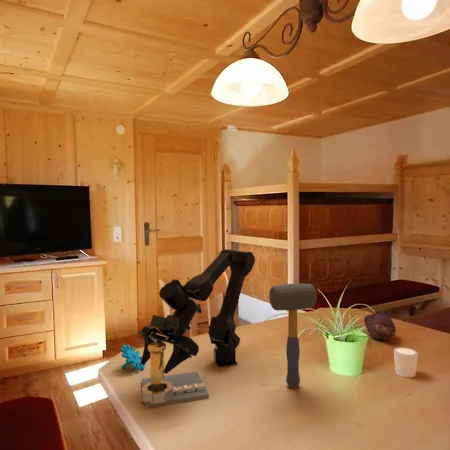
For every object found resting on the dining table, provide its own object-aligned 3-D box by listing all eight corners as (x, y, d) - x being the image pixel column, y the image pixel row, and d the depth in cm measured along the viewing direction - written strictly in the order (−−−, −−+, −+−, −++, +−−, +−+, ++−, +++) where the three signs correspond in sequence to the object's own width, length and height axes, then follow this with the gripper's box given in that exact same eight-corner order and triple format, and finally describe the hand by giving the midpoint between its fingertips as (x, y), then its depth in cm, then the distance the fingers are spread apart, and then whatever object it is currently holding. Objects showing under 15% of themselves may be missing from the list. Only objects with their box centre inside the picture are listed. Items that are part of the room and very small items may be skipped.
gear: (139, 371, 116) (118, 347, 117) (126, 384, 116) (105, 360, 118) (151, 361, 127) (132, 339, 128) (139, 373, 127) (120, 351, 128)
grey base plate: (197, 374, 116) (197, 371, 116) (208, 397, 102) (208, 394, 102) (141, 382, 112) (141, 379, 112) (145, 407, 97) (145, 404, 97)
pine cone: (356, 331, 155) (356, 308, 154) (378, 330, 156) (378, 306, 156) (381, 347, 137) (381, 320, 137) (405, 345, 139) (405, 318, 138)
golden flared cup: (167, 391, 104) (166, 341, 103) (165, 399, 99) (164, 348, 99) (150, 391, 104) (149, 342, 103) (147, 400, 99) (146, 348, 98)
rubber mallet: (307, 378, 113) (307, 280, 112) (318, 389, 106) (318, 285, 105) (268, 382, 110) (267, 282, 109) (277, 395, 103) (276, 287, 102)
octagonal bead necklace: (196, 371, 116) (196, 364, 116) (208, 395, 101) (207, 386, 101) (140, 379, 111) (139, 371, 111) (143, 405, 97) (143, 396, 97)
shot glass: (417, 370, 117) (417, 348, 117) (418, 379, 111) (418, 356, 111) (393, 367, 120) (393, 345, 120) (393, 375, 114) (393, 353, 114)
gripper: (144, 298, 109) (113, 346, 101) (190, 308, 98) (159, 363, 90) (165, 318, 116) (137, 365, 108) (210, 329, 104) (183, 383, 96)
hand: (153, 368), depth 100 cm, fingers open, 9 cm apart
